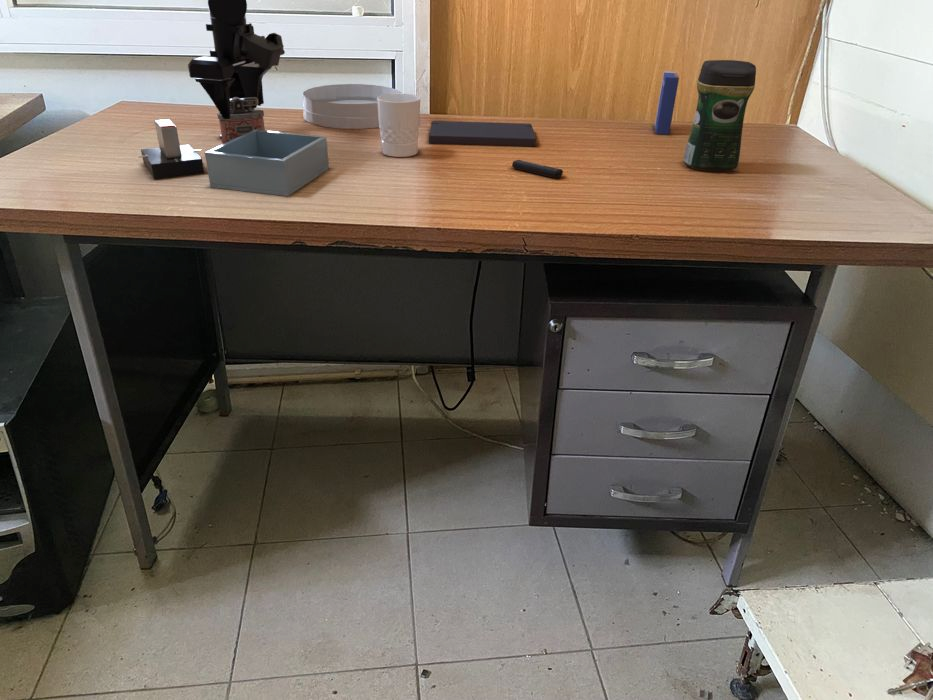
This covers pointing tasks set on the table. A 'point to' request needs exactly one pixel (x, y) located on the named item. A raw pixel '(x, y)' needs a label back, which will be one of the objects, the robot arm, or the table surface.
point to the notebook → (482, 133)
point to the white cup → (399, 123)
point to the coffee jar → (719, 115)
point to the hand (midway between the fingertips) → (240, 113)
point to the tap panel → (172, 163)
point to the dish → (344, 105)
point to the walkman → (666, 102)
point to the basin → (267, 162)
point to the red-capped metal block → (168, 138)
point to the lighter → (241, 119)
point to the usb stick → (537, 168)
